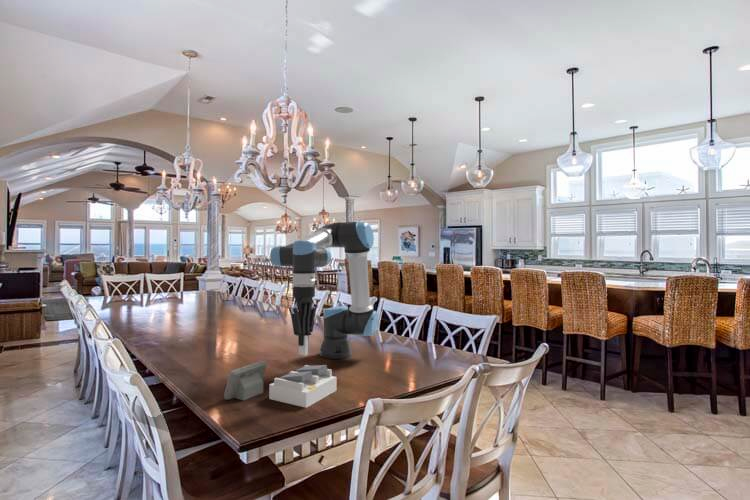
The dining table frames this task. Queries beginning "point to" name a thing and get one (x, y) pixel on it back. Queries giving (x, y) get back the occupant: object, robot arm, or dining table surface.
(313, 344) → the dining table surface
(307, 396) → the switch unit
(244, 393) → the digital clock
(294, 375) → the rocker
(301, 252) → the robot arm
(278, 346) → the dining table surface
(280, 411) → the dining table surface
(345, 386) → the dining table surface
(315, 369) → the rocker
